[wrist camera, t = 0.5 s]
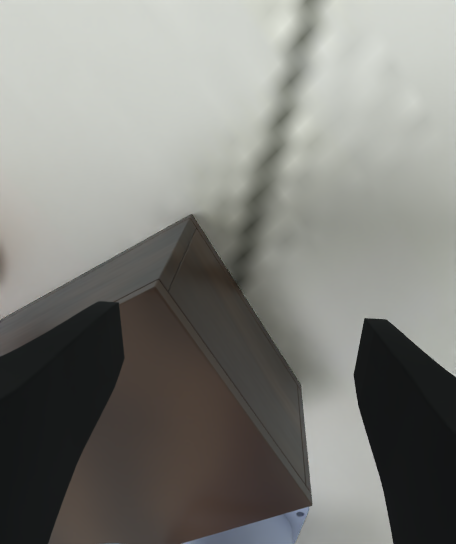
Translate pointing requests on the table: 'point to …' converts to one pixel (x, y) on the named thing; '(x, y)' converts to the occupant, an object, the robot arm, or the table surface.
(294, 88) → the table surface
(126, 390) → the cabinet
